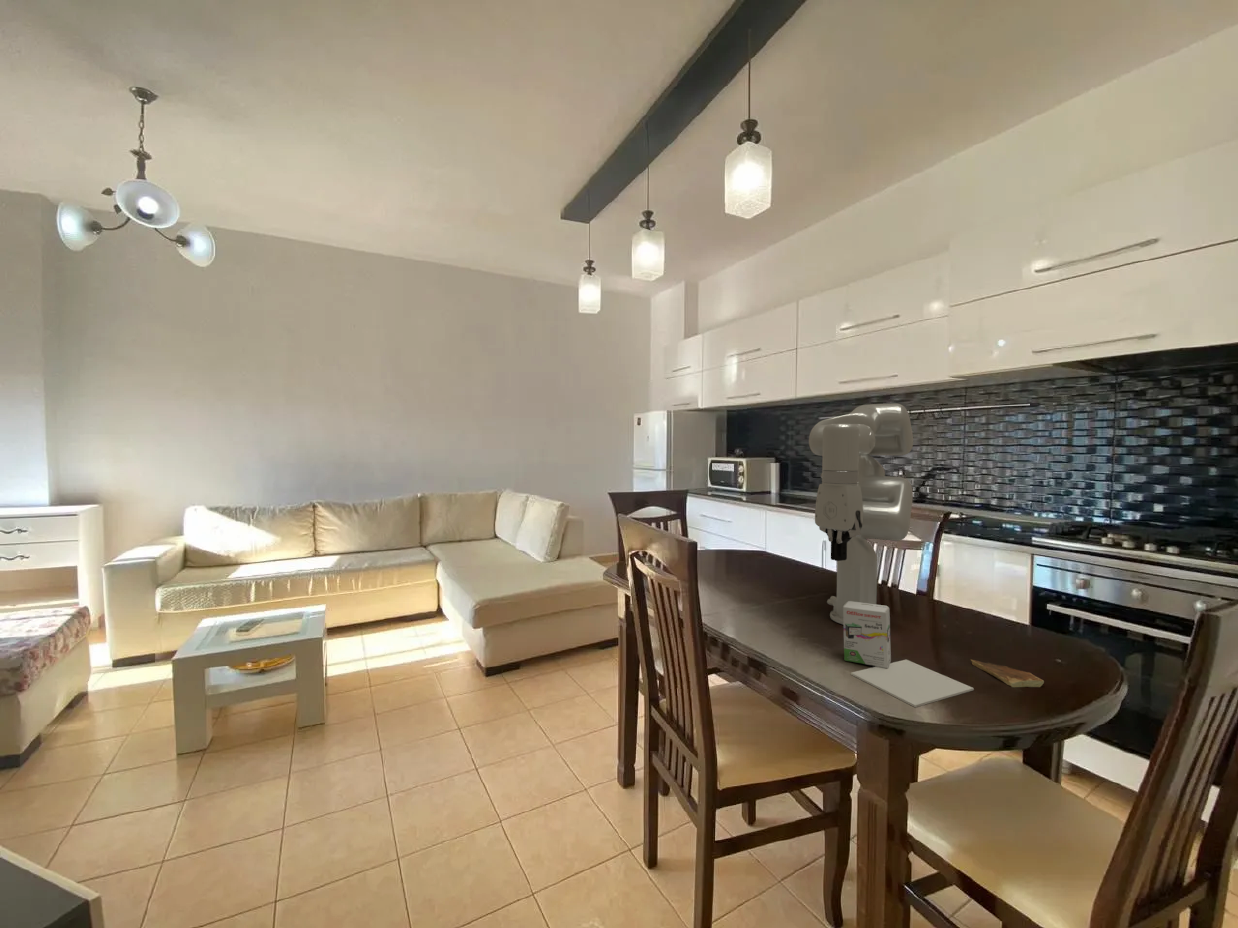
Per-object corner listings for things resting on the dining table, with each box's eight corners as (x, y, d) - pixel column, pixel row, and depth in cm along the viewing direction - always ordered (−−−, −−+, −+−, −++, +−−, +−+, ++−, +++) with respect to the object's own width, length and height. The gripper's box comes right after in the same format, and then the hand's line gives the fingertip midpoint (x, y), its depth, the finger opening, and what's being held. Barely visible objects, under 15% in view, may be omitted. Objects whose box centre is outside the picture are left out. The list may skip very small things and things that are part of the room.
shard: (969, 665, 108) (969, 656, 108) (1004, 664, 108) (1005, 656, 108) (1010, 689, 97) (1010, 680, 97) (1049, 689, 97) (1049, 680, 97)
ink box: (843, 660, 109) (841, 605, 109) (848, 653, 113) (846, 600, 113) (887, 668, 104) (886, 611, 104) (891, 661, 108) (889, 605, 108)
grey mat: (850, 674, 103) (850, 672, 103) (906, 661, 109) (906, 659, 109) (915, 707, 90) (915, 705, 90) (973, 690, 96) (973, 688, 96)
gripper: (802, 477, 120) (801, 554, 120) (854, 481, 106) (853, 568, 107) (827, 476, 123) (825, 552, 123) (880, 480, 109) (879, 565, 110)
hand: (838, 559), depth 115 cm, fingers closed
